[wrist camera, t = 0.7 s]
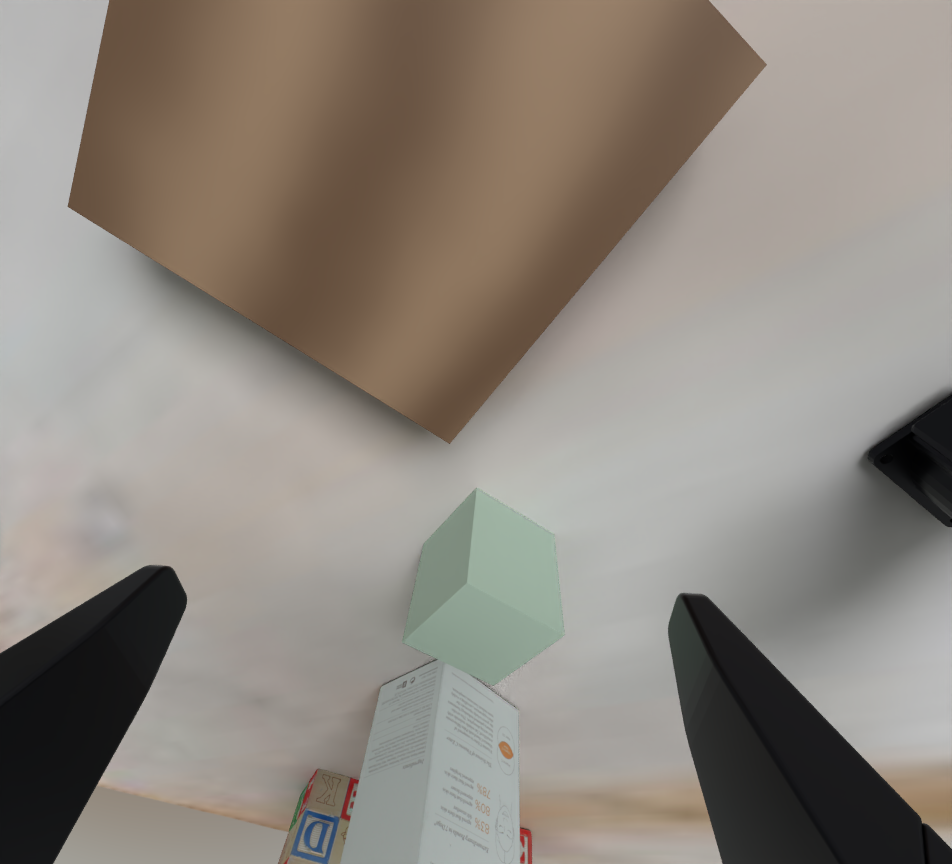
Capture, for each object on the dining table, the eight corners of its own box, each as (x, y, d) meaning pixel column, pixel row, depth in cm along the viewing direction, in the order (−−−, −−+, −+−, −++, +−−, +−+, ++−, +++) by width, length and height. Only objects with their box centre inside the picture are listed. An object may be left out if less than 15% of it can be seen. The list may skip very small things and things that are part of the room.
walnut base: (709, 81, 15) (766, 64, 12) (459, 395, 21) (449, 443, 18) (306, -339, 11) (218, -544, 8) (152, 193, 18) (68, 206, 14)
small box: (379, 684, 33) (313, 954, 22) (445, 652, 31) (408, 938, 20) (455, 734, 36) (430, 994, 25) (521, 709, 34) (526, 985, 23)
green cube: (554, 533, 25) (564, 635, 20) (497, 583, 27) (493, 685, 22) (476, 486, 24) (467, 582, 18) (423, 543, 26) (402, 642, 21)
